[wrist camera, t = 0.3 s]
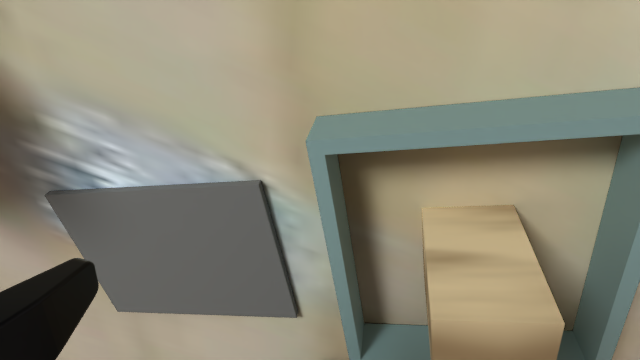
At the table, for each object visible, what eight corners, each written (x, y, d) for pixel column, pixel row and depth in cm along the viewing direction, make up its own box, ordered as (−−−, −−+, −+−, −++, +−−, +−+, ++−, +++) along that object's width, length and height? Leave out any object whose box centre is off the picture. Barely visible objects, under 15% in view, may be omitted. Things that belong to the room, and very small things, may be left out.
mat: (298, 312, 30) (296, 317, 29) (121, 306, 33) (117, 311, 33) (260, 180, 24) (258, 184, 23) (49, 191, 27) (44, 195, 27)
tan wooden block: (506, 269, 24) (547, 397, 17) (423, 269, 25) (432, 388, 19) (513, 204, 22) (565, 324, 15) (421, 207, 23) (431, 319, 16)
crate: (583, 339, 26) (603, 381, 23) (354, 329, 30) (350, 366, 27) (655, 86, 17) (699, 111, 15) (316, 116, 21) (305, 141, 18)
